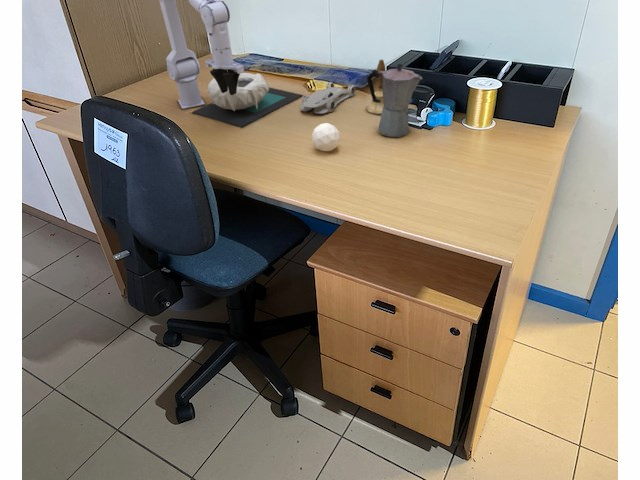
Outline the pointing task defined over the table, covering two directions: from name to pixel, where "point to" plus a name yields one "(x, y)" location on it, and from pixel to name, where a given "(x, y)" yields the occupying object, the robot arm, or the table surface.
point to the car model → (326, 99)
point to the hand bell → (378, 93)
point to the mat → (249, 108)
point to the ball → (325, 137)
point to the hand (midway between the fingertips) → (229, 93)
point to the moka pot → (394, 99)
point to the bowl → (240, 92)
